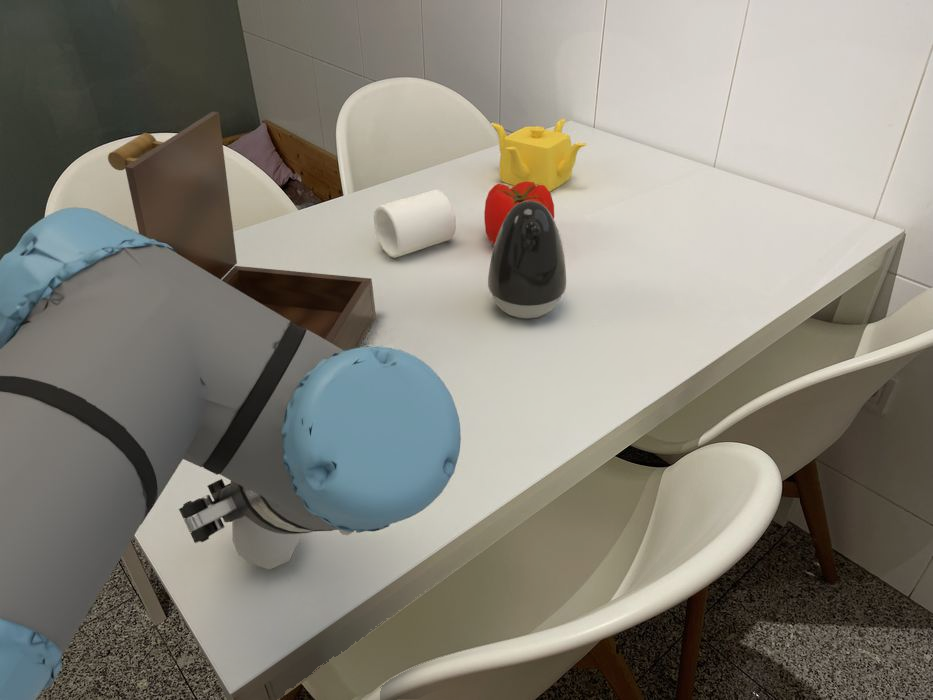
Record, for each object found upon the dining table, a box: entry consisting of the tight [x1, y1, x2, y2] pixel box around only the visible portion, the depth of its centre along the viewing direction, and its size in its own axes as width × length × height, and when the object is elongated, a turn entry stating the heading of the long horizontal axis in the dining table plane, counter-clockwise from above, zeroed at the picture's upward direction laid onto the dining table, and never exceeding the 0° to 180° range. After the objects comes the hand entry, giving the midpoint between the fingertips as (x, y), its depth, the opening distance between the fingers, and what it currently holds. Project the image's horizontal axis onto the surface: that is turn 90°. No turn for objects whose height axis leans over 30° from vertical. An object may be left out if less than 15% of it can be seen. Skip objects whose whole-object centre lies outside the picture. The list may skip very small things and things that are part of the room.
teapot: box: [490, 118, 588, 193], centre depth 126 cm, size 15×14×10 cm
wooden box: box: [221, 265, 377, 350], centre depth 86 cm, size 19×17×6 cm
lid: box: [107, 111, 238, 280], centre depth 80 cm, size 20×17×7 cm
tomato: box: [483, 181, 555, 246], centre depth 106 cm, size 11×12×9 cm
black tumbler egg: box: [487, 201, 567, 319], centre depth 89 cm, size 10×10×15 cm
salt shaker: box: [231, 516, 302, 571], centre depth 58 cm, size 6×6×13 cm
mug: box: [373, 189, 457, 259], centre depth 107 cm, size 12×10×8 cm
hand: (245, 493), depth 62 cm, fingers closed on salt shaker, 3 cm apart
